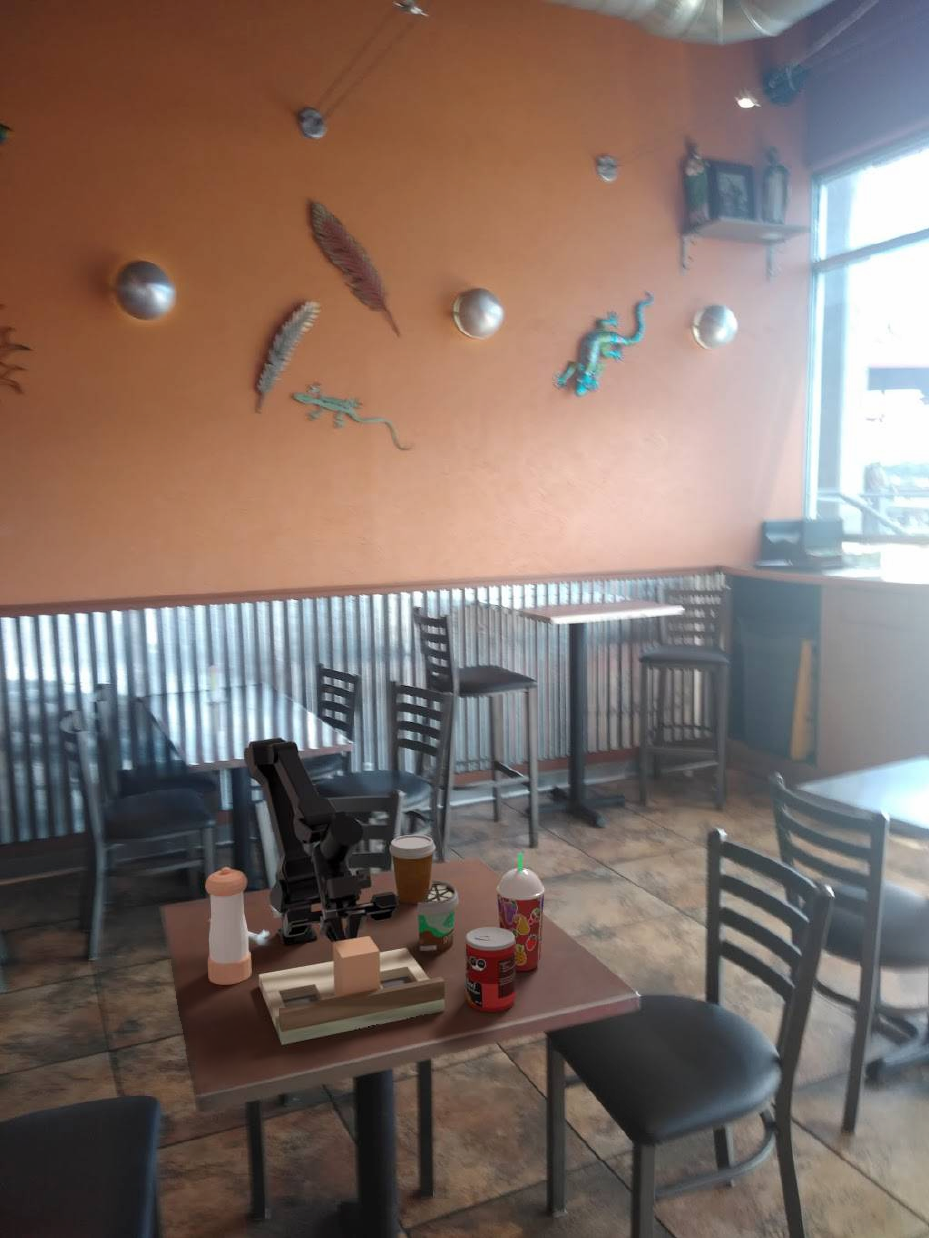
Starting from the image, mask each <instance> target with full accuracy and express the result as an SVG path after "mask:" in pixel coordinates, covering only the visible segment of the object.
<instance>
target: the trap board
mask: <svg viewBox="0 0 929 1238" xmlns="http://www.w3.org/2000/svg"><path fill="white" fill-rule="evenodd" d="M258 984H259V989H260V991H261V994H262V996H263V1000H264V1002H265V1004H266V1007H267V1010H268V1013H269V1015H270V1017H272V1018H271V1020H272V1023H273V1025H274V1028H275V1031H276V1033H277V1036H278V1038H279V1041H280V1044H281V1045H282V1046H284V1045H288V1044H294V1043H297V1042H298V1043H299V1042H302V1041H308V1040H311V1039H316V1038H322V1037H327V1036H331V1035H336V1034H341V1033H346V1032H349V1031H355V1029H356V1030H359V1028H360V1029H365V1028H368V1026H370V1027H372V1026H371V1025H375V1026H377V1025H376V1024H379V1025H383V1024H388V1023H393V1022H397V1021H402V1020H407V1018H408V1019H411V1018H410V1017H413V1018H417V1017H416V1016H418V1017H420V1016H419V1015H422V1016H425V1015H424V1014H427V1015H431V1014H435V1013H442V1012H445V1011H446V1004H445V1003H446V1001H445V1000H446V999H445V996H446V995H445V994H446V993H445V979H444V978H443V977H442V976H438V977H437V976H436V977H432V978H430V977H429V976H428V975H427V974H426V973H425V971H424V970H423V969H422V967H421V965H420V964H419V963H418V961H416V959H415V958H414V957H413V955H412V954H411V953H410V952H409V950H408V948H407V947H404V948H403V947H402V948H397V949H392V950H387V951H382V952H381V951H380V986H381V989H376V990H371V991H366V992H361V993H356V994H350V995H345V996H340V997H335V996H334V964H333V960H331V961H326V962H322V963H321V962H320V963H315V964H310V965H305V966H298V967H293V968H287V969H283V970H277V971H272V972H266V973H260V974H258ZM364 1027H365V1028H364Z"/></svg>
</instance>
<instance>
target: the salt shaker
mask: <svg viewBox="0 0 929 1238" xmlns="http://www.w3.org/2000/svg"><path fill="white" fill-rule="evenodd" d="M205 880H206V881H205V885H204V886H205V890H206V892H207V893H208V894H209V895H210V914H211V915H210V916H211V917H210V923H209V924H210V925H209V933H208V934H209V935H208V944H209V945H208V946H209V947H208V948H209V950H208V951H209V955H208V957H207V972H208V973H207V974H208V980H209V981H210V982H211V983H213V984H216V985H221V986H223V985H224V986H228V985H234V984H235V985H236V984H238V983H242V982H243V981H246V980H247V979H249V978H250V977H251V976H252V953H251V951H250V950H249V931H248V926H247V921H246V917H245V916H246V915H245V906H244V905H245V904H244V903H245V902H244V891H245V890H246V887H247V885H248V878H247V876H246V874H245V873H244V872H243V871H241V870H237V869H233V868H231V867H227V866H225V867H222V868H221V869H220V870H217V871H216V872H213V873H211V874H210V875H209V876H208V877H207V879H205Z"/></svg>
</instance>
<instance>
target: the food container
mask: <svg viewBox="0 0 929 1238" xmlns="http://www.w3.org/2000/svg"><path fill="white" fill-rule="evenodd" d="M431 882H432V883H431V884H432V885H431V887H430V888H429V891H428V892H427V893H426V895H425V897H424V900H423V902H421V903H417V909H416V910H417V912H416V913H417V914H416V916H417V917H418V918H417V919H418V920H417V921H418V939H419V940H418V941H419V955H427V956H428V955H435V954H440V953H444V952H446V951H448V950H449V949H451V948H452V946H453V945H454V933H455V932H454V931H455V915H456V907H457V906H458V905H459V902H460V900H459V895H458V892H457V890H456V888H455V886H454V885H452V884H451V883H449V882H447V881H443V880H438V879H432V881H431Z"/></svg>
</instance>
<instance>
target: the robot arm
mask: <svg viewBox="0 0 929 1238" xmlns="http://www.w3.org/2000/svg"><path fill="white" fill-rule="evenodd" d="M243 759H244V763H245V765H246V766H247V767H248V769H249V770H248V771H249V773H250V776H251V778H252V779H254V780H255V782H257V783H258V784H259V785H260V786H261V787H262V790H263V793H264V794H263V795H264V798H265V803H266V806H267V809H268V815H269V819H270V822H271V827H272V831H273V835H274V840H275V843H276V849H277V853H278V856H279V861H278V865H277V868H276V870H275V874H274V877H275V883H274V884H273V887H272V888H271V890H270V893H269V900H270V906H271V907H272V908H274V909H275V910H276V912H278V913H279V914H281V915H280V916H281V917H280V918H281V928H278V929H277V935H278V936H279V938H280V940H281V943H282V944H283V945H285V946H286V945H293V944H298V943H303V942H309V941H315V940H316V941H317V940H318V939H319V936H320V937H326V938H327V939H328V940H329V941H330V942H331V943H332V944H333V942H337V941H343V940H348V939H354V938H358V934H359V933H358V932H359V930H361V929H363V928H364V925H365V923H366V920H367V918H368V915H369V919H370V920H371V921H373V922H375V923H378V922H385V921H390V920H392V919H394V917H395V916H396V913H397V911H398V909H399V907H400V902H399V899H398V895H396V894H395V893H394V892H393V891H387V892H386V891H385V892H381V893H373V894H372V896H371V899H370V901H369V902H364V903H363V902H362V903H359V904H357V901H360V899H361V895H363V894H362V890H365V889H369V888H371V887H372V876H371V873H370V870H369V867H366V868H359V869H357V870H355V874H353V873H352V871H351V870H350V867H349V862H348V860H349V859H350V858H351V857H352V856H353V854H354V852H355V851H356V849H357V848H358V846H359V844H360V843H361V841H362V839H363V837H364V829H363V826H362V824H361V823H360V822H359V821H358V820H357V819H355V818H354V817H352V816H348V815H346V811H345V810H339V811H337V810H336V808H335V807H334V805H333V804H332V802H331V801H330V800H329V799H327V798H326V797H324V796H322V795H320V794H319V792H318V790H317V788H316V787H315V784H314V783H313V781H312V778H311V777H310V775H309V773H308V771H307V769H306V766H305V765H304V763H303V761H302V759H301V757H300V755H299V747H298V744H297V743H296V742H295V741H291V740H289V741H286V740H285V739H283V738H282V737H273V738H266V739H259V740H252V741H250V742H249V743H248V747H245V748H244V751H243ZM316 843H318V844H316ZM310 844H316V846H314V848H313V850H312V852H311V854H309V853H308V852H307V851H306V850H305V847H304V845H310ZM318 904H319V905H320V904H321V910H316V911H313V906H314V905H318ZM343 920H346V925H345V928H344V925H343ZM314 924H315V925H316V924H318V925H319V927H320V930H319V936H318V934H317V932H316V930H315V929H314V927H313V925H314Z"/></svg>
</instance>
